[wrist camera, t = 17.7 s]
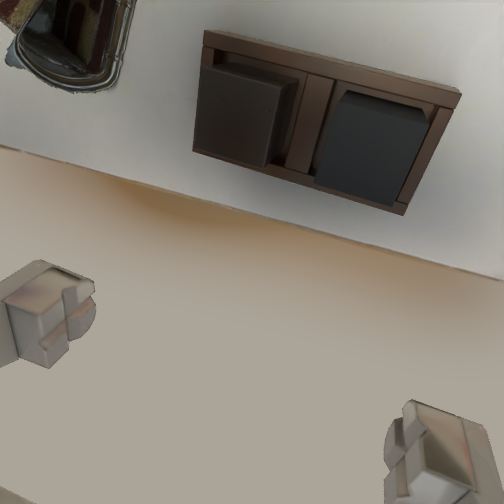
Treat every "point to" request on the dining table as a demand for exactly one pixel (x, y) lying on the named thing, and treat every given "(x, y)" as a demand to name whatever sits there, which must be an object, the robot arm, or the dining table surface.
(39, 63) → the patterned wedge
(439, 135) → the brown compartment tray
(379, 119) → the black block
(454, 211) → the dining table surface
